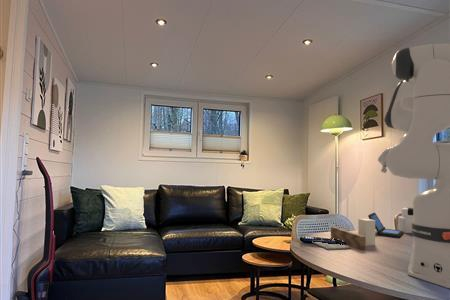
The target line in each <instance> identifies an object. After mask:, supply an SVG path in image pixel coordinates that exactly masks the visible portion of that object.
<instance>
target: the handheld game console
mask: <svg viewBox="0 0 450 300" xmlns="http://www.w3.org/2000/svg"><path fill="white" fill-rule="evenodd" d="M367 216H368V219H371V220H375V232H376V235H377V236H382V237H386V238H387V237H388V238H396V239H399V238H400V237H401V236H402V235H403V234H404V232H403V231H400V230H398V229H390V228H386V227H385V226H384V225H383V223H382V222H381V220H380V218H379V217H378V215H377V213H376V212H373V213H370V214H368V215H367Z"/></svg>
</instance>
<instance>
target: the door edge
mask: <svg viewBox="0 0 450 300" xmlns="http://www.w3.org/2000/svg"><path fill="white" fill-rule="evenodd" d="M331 238H334V239H339V240H343V241H345V242H346V244H345V245H346V246H349V247H351V248H352V247H353V248H354V249H358V250H360V251H365V250H366V246H365V236H362V235H359V234H358V233H356V232H352V231H349V230H346V229H343V228H341V227H337V226H330V239H331Z"/></svg>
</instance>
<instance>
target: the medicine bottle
mask: <svg viewBox="0 0 450 300" xmlns="http://www.w3.org/2000/svg"><path fill="white" fill-rule="evenodd" d="M397 217H398V218H397V219H398V222H397V223H398V227H397V228H398V229H397V230H400V231H403V234H404V233H405V234H412V230H411V228H412V223H413V207H403V208H401V215H400V216H397Z"/></svg>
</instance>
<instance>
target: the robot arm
mask: <svg viewBox="0 0 450 300" xmlns="http://www.w3.org/2000/svg"><path fill="white" fill-rule="evenodd" d="M391 69H392V72H393V75H394V77H395V78H396V79H398V80H400V81H399V82H398V84H397V86H396V87H395V89H394V92H393V94H392V97H391V100H390V103H389V105H388V109H387V111H386V113H385V116H384V119H383V121H384V123H385V125H386V127H387V128H390V129H395V130H399V131H402V132H404V135H403V136H402V137H400V139H399V141H398V143H396V144H395V145H393V146H392V147H391V146H390V147H388V148H386V149H384V151H383V152H382V153H381V154H380V155H379V157H378V158H377V162H379V164H380V165H381V166H382V168H381V170H380V172H381V173H383V174H384V173H385V174H387V172H388V170H389V172H390V173H391V174H392V175H393V176H397V177H401V178H404V179H406V178H407V179H416V180H417V179H420V180H421V179H422V180H435V182H434V184H433V186H432V188H430V189H427V190H425V191H423V192H420V193H418V194H417V195H416V196H415V197H414V199H413V202H412V208H413V223H412V228H411V230H412V233H411V235H412V245H411V250H410V251H411V252H410V259H409V262H408V265H407V275H409V276H411V277H414V278H418V279H420V280H423V281H425V282H428V283H431V284H435V285H438V286H441V287H444V288H447V289H450V142H447V143H446V142H444V143H443V142H439V143H438V142H433V141H434V137H436V134H438V133H441V132H443V131H446V130H448V129H449V128H450V43H435V44H432V43H429V44H423V45H418V46H413V47H404V48H402V49H399V50H397V51H396V53H395V55H394V56H393V60H392V62H391ZM404 99H413V101H412V103H413V104H412V105H413V107H412V109H411V108H406V107H404V106H403V102H404Z"/></svg>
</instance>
